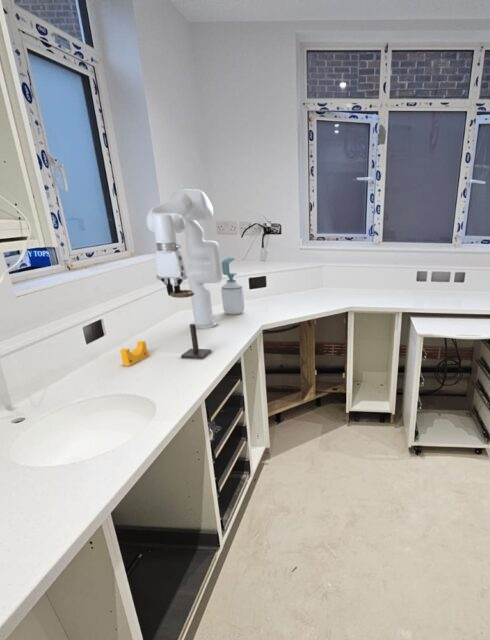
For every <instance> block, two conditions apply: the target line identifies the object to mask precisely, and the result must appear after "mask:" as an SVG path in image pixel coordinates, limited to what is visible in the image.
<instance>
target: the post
mask: <svg viewBox="0 0 490 640" xmlns="http://www.w3.org/2000/svg"><path fill="white" fill-rule="evenodd" d="M189 330H190V337H191V344H192V348H189V349H188V350H187V351H185V352H184V353H182V354H181V355H180V357H181V359H194V360H195V359H196V360H203V359H205V358H206V357H207V356H208V355H210V354H211V352H212V349H210V348H199V343H198V342H199V341H198V335H197V327H196V326H195V324H192V323H190V324H189Z"/></svg>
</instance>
